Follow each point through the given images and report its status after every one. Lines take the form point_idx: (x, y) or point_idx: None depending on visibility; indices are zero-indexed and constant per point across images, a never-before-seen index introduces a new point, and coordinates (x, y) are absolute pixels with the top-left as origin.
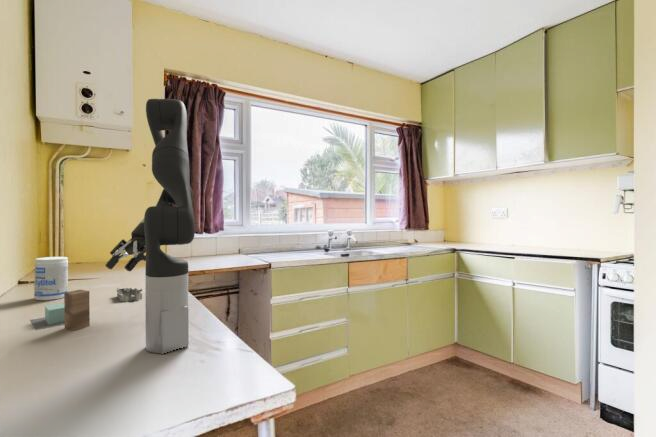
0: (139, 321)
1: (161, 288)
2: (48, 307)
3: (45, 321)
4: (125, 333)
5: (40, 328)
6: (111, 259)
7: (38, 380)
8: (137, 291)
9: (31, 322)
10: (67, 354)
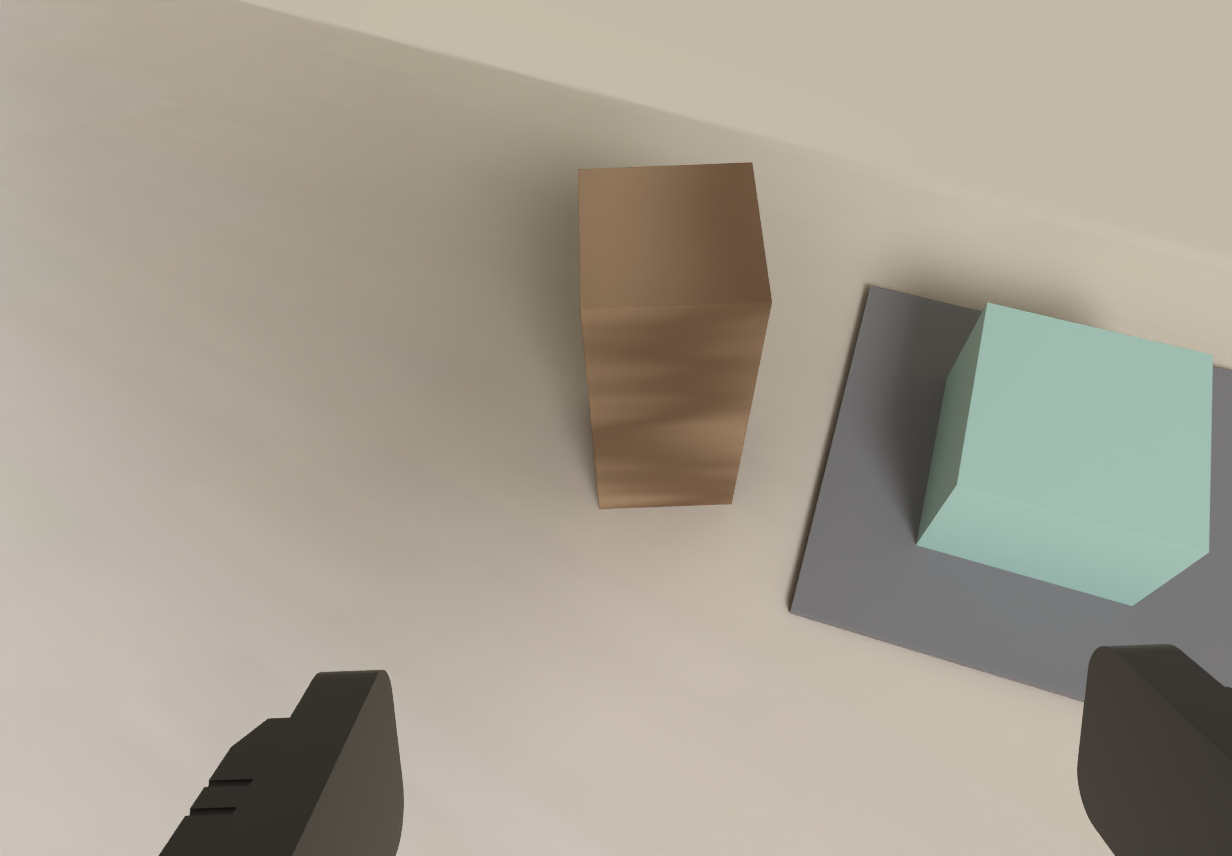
0: None
1: None
2: (1120, 347)
3: None
4: (149, 544)
5: (885, 312)
6: (1229, 757)
7: (79, 38)
8: None
9: None
10: (220, 194)
